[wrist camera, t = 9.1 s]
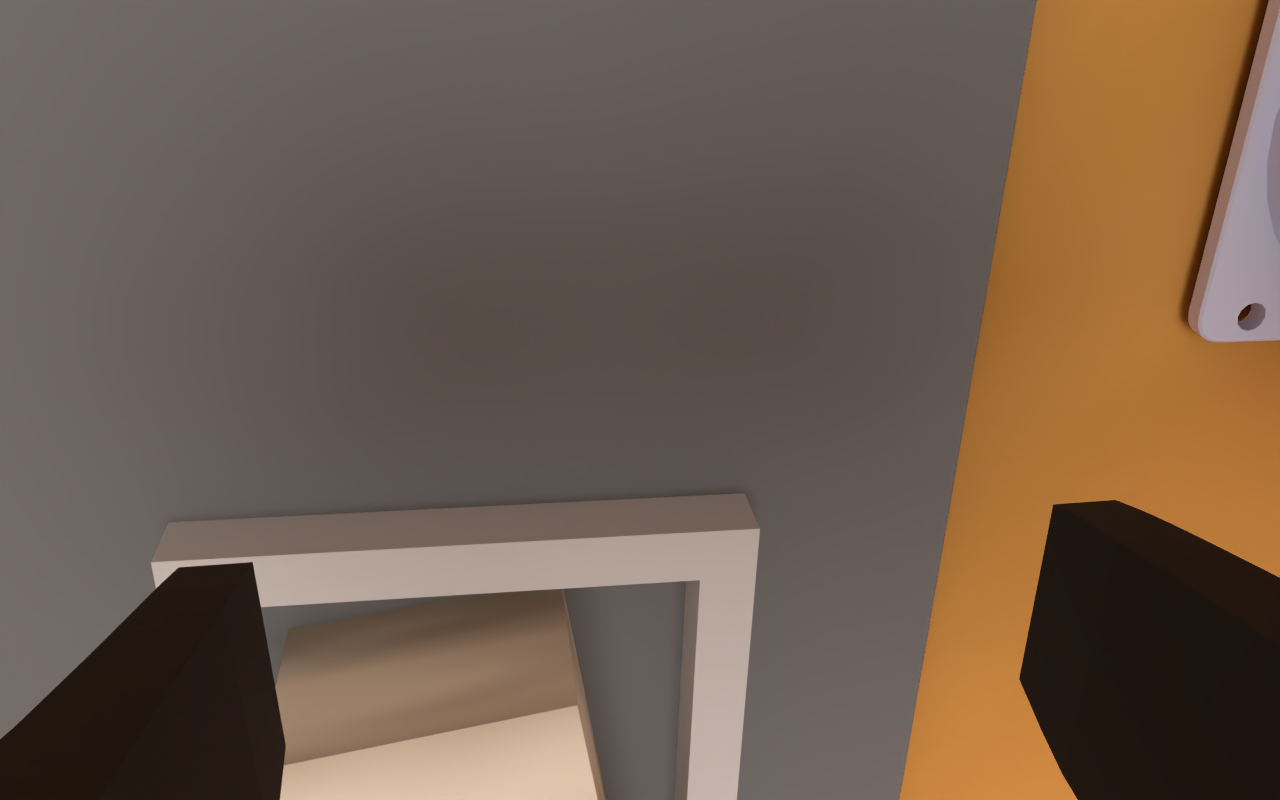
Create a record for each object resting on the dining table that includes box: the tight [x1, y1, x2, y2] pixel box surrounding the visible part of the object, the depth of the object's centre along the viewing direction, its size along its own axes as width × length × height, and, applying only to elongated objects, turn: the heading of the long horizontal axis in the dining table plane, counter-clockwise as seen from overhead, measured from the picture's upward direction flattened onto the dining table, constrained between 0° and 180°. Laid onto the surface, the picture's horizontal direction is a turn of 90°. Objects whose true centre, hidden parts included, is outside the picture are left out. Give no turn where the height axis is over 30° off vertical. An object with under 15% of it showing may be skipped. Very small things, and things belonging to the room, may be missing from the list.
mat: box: [0, 0, 1036, 800], centre depth 20 cm, size 18×28×2 cm, turn 179°
